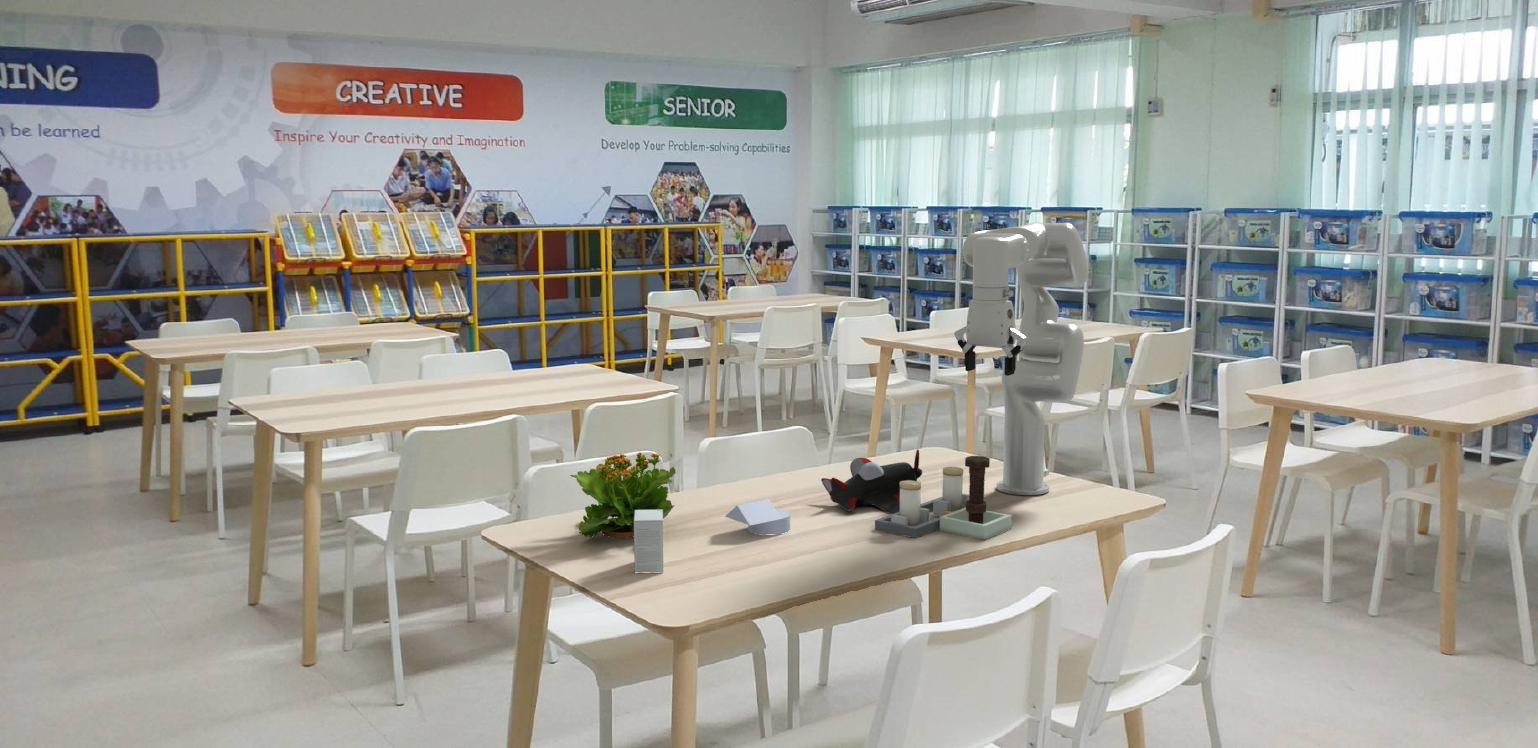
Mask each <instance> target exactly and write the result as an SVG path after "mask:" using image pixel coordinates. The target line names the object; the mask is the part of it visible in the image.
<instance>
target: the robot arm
mask: <svg viewBox="0 0 1538 748" xmlns="http://www.w3.org/2000/svg"><path fill="white" fill-rule="evenodd" d="M962 245H963V246H962V257H963V260H964V262H965V263H966V264H967V265H968V266H969V267H972V299H971V300H970V302H969V305H968V311H967V317H966V326H964V327H961V328H959V329H958V330H956V331H954V336H955V338H956V341H957V344H958V346H959V348H960V349H961V350H962V353H963V354H964V367H965V369H964V370H965V372H971V371H974V370H976V351H974V350H975V348H976V347H983V348H984V347H985V348H997V349H1002V350H1003V352H1004V354H1005V355H1006V356H1005V358H1004V368H1003V369H1002V373H1001V386H1002V393H1003V401H1004V402H1003V403H1004V428H1003V430H1004V432H1003V438H1004V439H1003V464H1002V465H1003V469H1002V473H1003V474H1002V480H1000V481H998V482H997V483H996V484H995V485H996V486H995V487H996V489H997V490H998V491H999V492H1002V493H1005V494H1008V495H1018V496H1039V495H1043V494H1047V493H1048V492H1049V491H1050V485H1049V484H1048V483H1045V482H1044V477H1045V478H1046V477H1047V476H1049V475H1050V471H1049V469H1048V468H1046V467H1045V468H1044V463H1045V462H1044V460H1045V458H1044V457H1045V456H1044V455H1045V430H1046V429H1045V428H1046V421H1045V420H1046V419H1045V417H1044V413H1043V411H1042V410H1041V408H1040V407H1039V405H1038V404H1037V402H1042V403H1045V402H1046V403H1055V404H1056V403H1058V404H1064V403H1069V402H1071V401H1072V399H1073V398H1074V397H1075V394H1076V392H1077V391H1076V390H1077V385H1078V381H1079V380H1078V379H1079V375H1080V370H1081V365H1082V362H1083V361H1082V360H1083V356H1084V351H1085V350H1084V348H1085V339H1084V338H1085V336H1084V333H1083V331H1082V328H1080V326H1078V325H1076V324H1072V323H1065V322H1064V323H1063V322H1062V323H1061V322H1058V319H1059V314H1060V307H1059V304H1057V301H1056V300H1055V298H1054V297H1053V296H1052V295H1051V293H1049V291H1047V289H1046V288H1045V287H1047V288H1048V287H1050V288H1051V287H1052V288H1053V287H1054V288H1079V287H1081V286H1083V285H1084V284H1086V282H1087V280H1088V276H1089V270H1090V269H1089V261H1088V259H1087V254H1086V252H1085V247H1084V244H1083V241H1082V239H1081V236H1080V234H1079V232H1078V230H1077V228H1076V227H1075V226H1074V225H1073V224H1071V223H1068V222H1030V223H1027V224H1022V225H1020V226H1011V227H1009V226H1008V227H1002V228H997V229H989V230H986V229H985V230H980V231H979V230H978V231H975V232H971V233H970V234H969V235H968V236H966V238H965V240H964V242H963V244H962ZM1009 269H1016V274H1017V275H1016V276H1017V280H1018V284H1019V288H1020V294H1021V296H1022V301H1023V310H1022V316H1021V321H1020V326H1019V330H1016V318H1015V311H1014V306H1013V301H1012V300H1009V298H1011V297H1013V296H1014V291H1013V290H1010V287H1009ZM965 334H966V336H964V335H965ZM965 337H966V339H965ZM1015 344H1016V345H1015ZM1017 356H1019V357H1020V358H1021V359H1020V360H1016V359H1017ZM1022 359H1024V360H1022Z"/></svg>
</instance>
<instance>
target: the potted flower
mask: <svg viewBox="0 0 1538 748" xmlns="http://www.w3.org/2000/svg"><path fill="white" fill-rule="evenodd" d="M636 456H637V457H636V458H635V459H634V460H635V465H633V463H632V462H631V460H632V459H630V458H626V457H627V455H625V454H622V453H620V455H612V456H609V457H607V456H606V458H605V459H604V463H599V464H597V466H596V468H590V469H589V472H588V471H587V470H584V471H577V474H570V475H569V476H570V477H572V478H576V482H577V483H578V484H579V486H580V487H582V488H581V490H582V491H583V493H584V494H585V495H587V496H590V497H591V498H593V499H594V500H596V501H597V503H598V505H597V503H596V504H594V503H591V504H590V505H587V506H585V507H584V510H585V513H586V515H582V518H583V520H580V522H579V525H578V531H579V532H578V533H579V534H581V536H584V537H589V538H593V537H594V536H595V537H597V536H598V535H599V534H600V533H601V535H603V534H604V535H603V536H605V537H607V536H609V537H608V538H612V537H614V538H615V539H627V538H626V537H629V538H634V537H633V536H634V511H635V510H663V520H664V519H665V518H666V517H667V516H668V515H669V514H670V513H671V511H672V509H673V508H674V507H675V505H673V503H672V501H671V500H670V499H667V498H668V496H669V495H668V493H669V487H668V486H663V485H667V484H672V483H673V480H672V479H671V478H672V477H673V476H674V475H675V474H677V473H676V468H674V467H675V466H671V467H670V469H668V470H666V469H665V468H664V469H663V468H660V469H659V468H656V465H657V463H658V464H659V463H660V454H657V453H652V454H651V455H650V457H651V458H647V456H646V455H645V454H644V453H642V452H641V451H639V452H638V453H636ZM649 464H652V466H653V468H652V470H650V469H648V468H649V467H650V466H649ZM612 465H613V467H612ZM632 465H633V466H632ZM629 467H630V468H629ZM628 468H629V469H628ZM646 469H647V470H646ZM609 517H610V518H609ZM596 535H597V536H596ZM592 536H593V537H592Z"/></svg>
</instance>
